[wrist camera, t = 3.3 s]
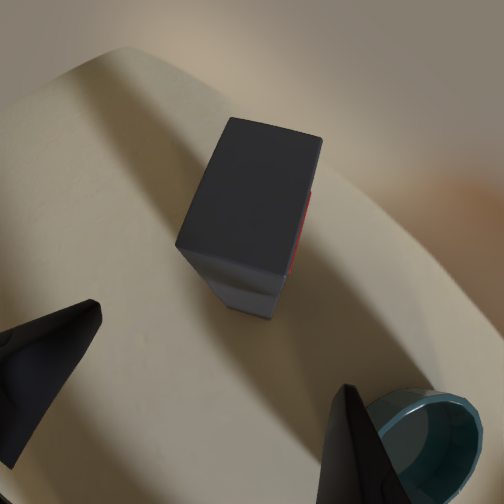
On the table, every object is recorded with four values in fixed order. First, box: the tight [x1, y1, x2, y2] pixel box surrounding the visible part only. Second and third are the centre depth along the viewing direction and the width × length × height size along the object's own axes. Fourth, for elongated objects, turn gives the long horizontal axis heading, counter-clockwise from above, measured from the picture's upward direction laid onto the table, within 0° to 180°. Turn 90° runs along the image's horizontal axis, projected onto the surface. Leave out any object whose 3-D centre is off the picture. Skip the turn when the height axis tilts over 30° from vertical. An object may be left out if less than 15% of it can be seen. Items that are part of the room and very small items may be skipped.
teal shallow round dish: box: [366, 388, 483, 504], centre depth 16 cm, size 10×10×4 cm
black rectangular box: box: [175, 117, 323, 320], centre depth 15 cm, size 5×3×14 cm
